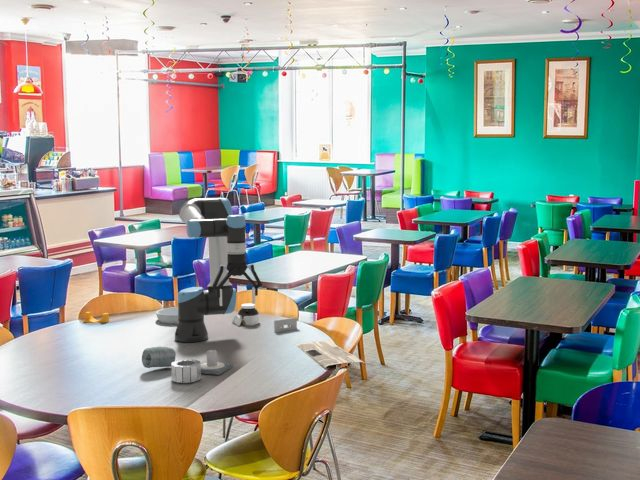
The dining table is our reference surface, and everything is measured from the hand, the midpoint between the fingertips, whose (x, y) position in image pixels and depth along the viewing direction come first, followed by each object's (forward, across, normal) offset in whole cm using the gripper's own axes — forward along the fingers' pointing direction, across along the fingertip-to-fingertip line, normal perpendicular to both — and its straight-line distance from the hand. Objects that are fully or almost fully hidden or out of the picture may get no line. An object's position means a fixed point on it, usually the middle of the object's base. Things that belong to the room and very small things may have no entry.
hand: (237, 304), depth 313 cm
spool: (+25, -34, -1) cm, 42 cm away
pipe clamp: (+24, -58, +87) cm, 108 cm away
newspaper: (+25, +40, -1) cm, 47 cm away
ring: (+24, -23, -16) cm, 37 cm away
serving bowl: (+24, -19, +80) cm, 86 cm away
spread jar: (+24, +13, +61) cm, 67 cm away
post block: (+24, -12, -7) cm, 28 cm away
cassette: (+24, +29, +43) cm, 57 cm away
